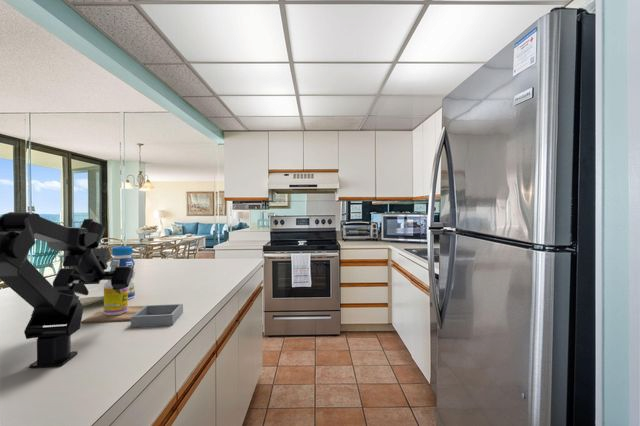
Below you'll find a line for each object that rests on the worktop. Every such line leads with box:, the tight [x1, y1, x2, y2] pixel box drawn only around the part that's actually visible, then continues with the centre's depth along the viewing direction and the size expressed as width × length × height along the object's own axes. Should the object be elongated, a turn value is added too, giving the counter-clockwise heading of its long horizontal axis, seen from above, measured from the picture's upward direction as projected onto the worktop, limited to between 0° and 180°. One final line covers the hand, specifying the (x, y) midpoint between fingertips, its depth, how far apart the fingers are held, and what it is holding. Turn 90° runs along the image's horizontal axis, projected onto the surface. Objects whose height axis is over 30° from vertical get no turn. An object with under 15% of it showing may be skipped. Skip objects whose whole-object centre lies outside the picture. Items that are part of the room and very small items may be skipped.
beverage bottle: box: [109, 245, 136, 300], centre depth 126 cm, size 8×8×20 cm
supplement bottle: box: [103, 280, 129, 316], centre depth 106 cm, size 7×7×13 cm
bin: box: [130, 303, 184, 328], centre depth 101 cm, size 12×12×3 cm
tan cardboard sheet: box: [81, 305, 145, 324], centre depth 106 cm, size 14×14×1 cm
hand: (104, 293), depth 98 cm, fingers open, 9 cm apart
